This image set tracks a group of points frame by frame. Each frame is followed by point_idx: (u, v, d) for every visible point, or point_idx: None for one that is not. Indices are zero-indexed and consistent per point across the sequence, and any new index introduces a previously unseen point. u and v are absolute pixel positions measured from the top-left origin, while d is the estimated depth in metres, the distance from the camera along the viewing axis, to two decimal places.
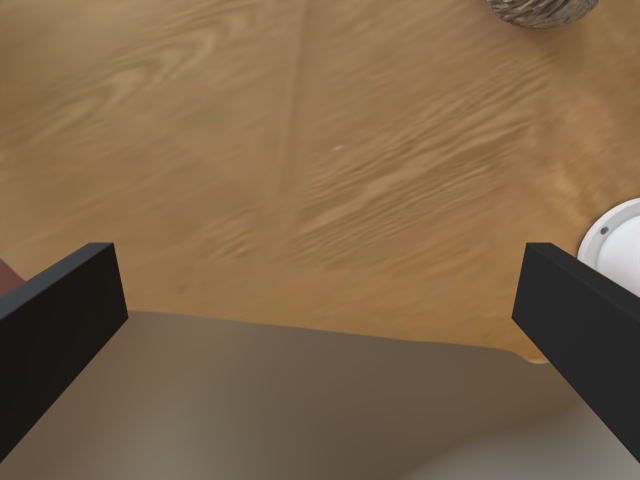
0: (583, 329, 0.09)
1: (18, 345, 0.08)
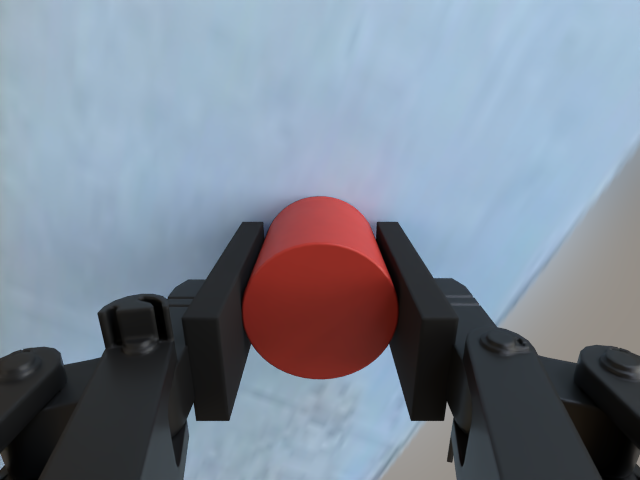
0: None
1: (242, 296, 0.10)
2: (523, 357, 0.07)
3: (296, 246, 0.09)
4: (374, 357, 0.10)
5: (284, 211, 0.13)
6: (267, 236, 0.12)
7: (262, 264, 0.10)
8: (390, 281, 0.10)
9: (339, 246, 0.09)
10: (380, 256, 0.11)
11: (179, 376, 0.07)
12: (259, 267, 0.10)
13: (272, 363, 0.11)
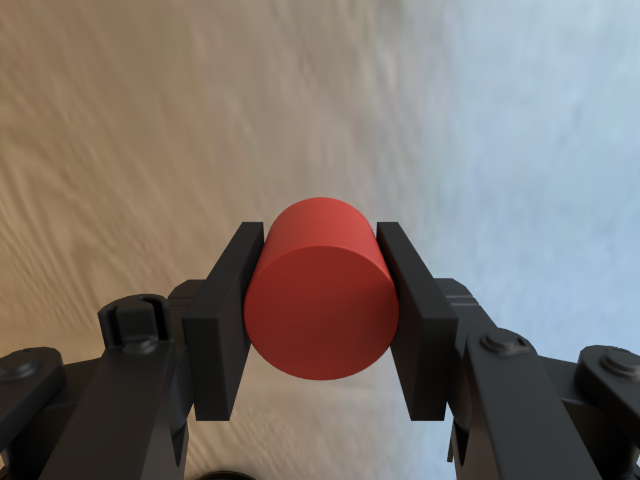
0: None
1: (242, 296, 0.10)
2: (523, 357, 0.07)
3: (298, 247, 0.09)
4: (375, 358, 0.11)
5: (285, 212, 0.13)
6: (268, 237, 0.12)
7: (263, 265, 0.10)
8: (391, 282, 0.10)
9: (340, 248, 0.09)
10: (381, 257, 0.11)
11: (179, 376, 0.07)
12: (260, 268, 0.10)
13: (273, 364, 0.11)
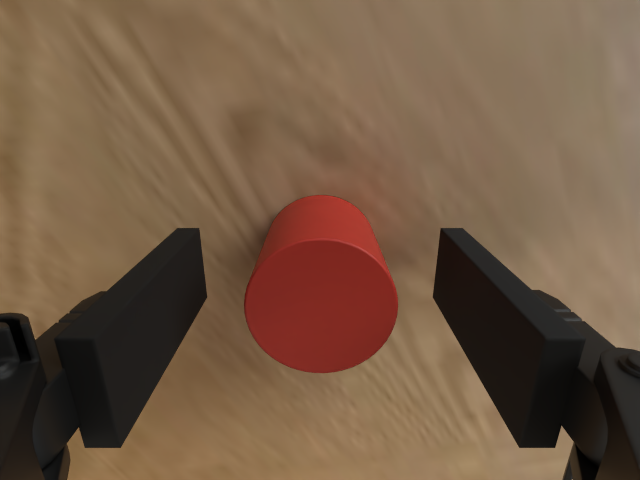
0: (469, 300, 0.11)
1: (151, 310, 0.09)
2: None
3: (298, 241, 0.10)
4: (374, 351, 0.11)
5: (285, 209, 0.14)
6: (269, 233, 0.13)
7: (264, 259, 0.10)
8: (389, 276, 0.10)
9: (339, 241, 0.10)
10: (379, 252, 0.11)
11: (50, 398, 0.07)
12: (261, 262, 0.10)
13: (274, 357, 0.11)
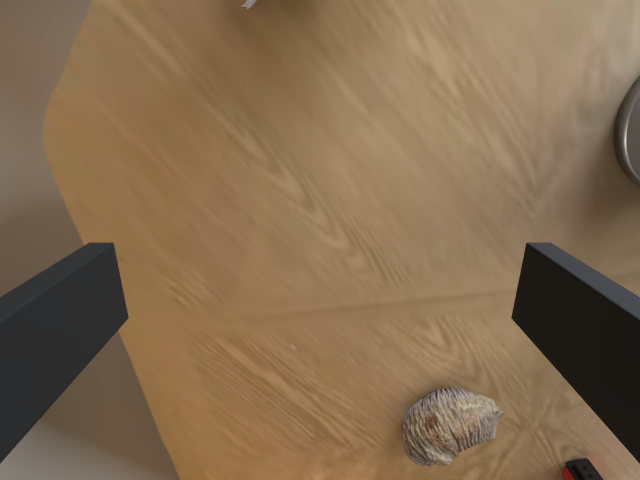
0: (583, 329, 0.09)
1: (18, 345, 0.08)
2: None
3: None
4: None
5: None
6: None
7: None
8: None
9: None
10: None
11: None
12: None
13: None
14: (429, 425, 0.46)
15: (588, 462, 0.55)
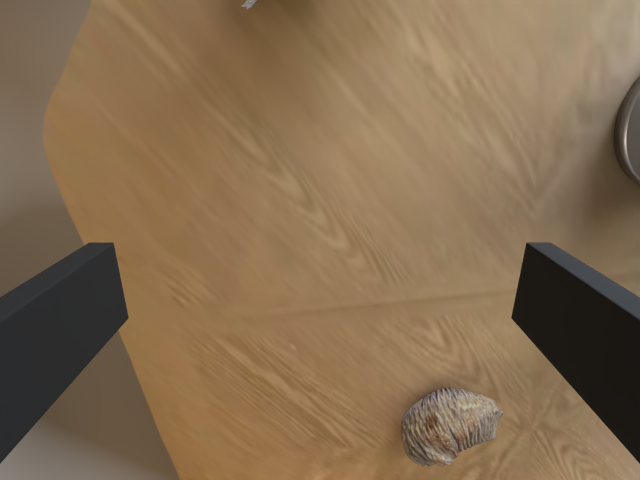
0: (583, 329, 0.09)
1: (18, 345, 0.08)
2: None
3: None
4: None
5: None
6: None
7: None
8: None
9: None
10: None
11: None
12: None
13: None
14: (429, 425, 0.46)
15: None
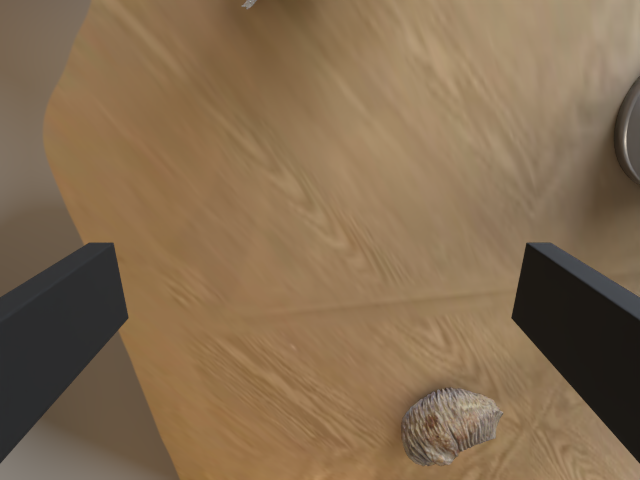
0: (583, 329, 0.09)
1: (18, 345, 0.08)
2: None
3: None
4: None
5: None
6: None
7: None
8: None
9: None
10: None
11: None
12: None
13: None
14: (429, 425, 0.46)
15: None
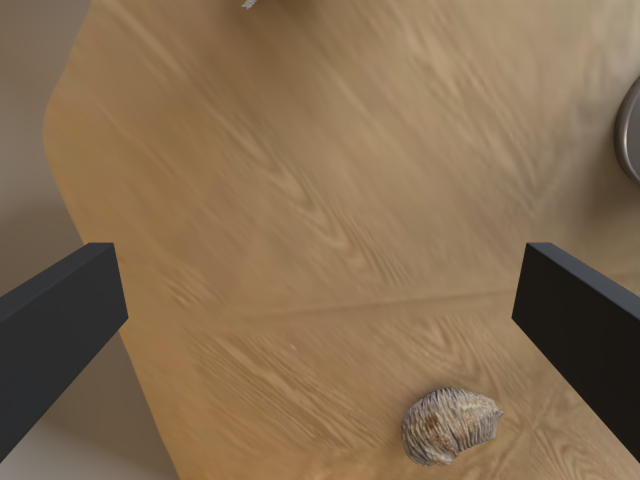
0: (583, 329, 0.09)
1: (18, 345, 0.08)
2: None
3: None
4: None
5: None
6: None
7: None
8: None
9: None
10: None
11: None
12: None
13: None
14: (429, 425, 0.46)
15: None
